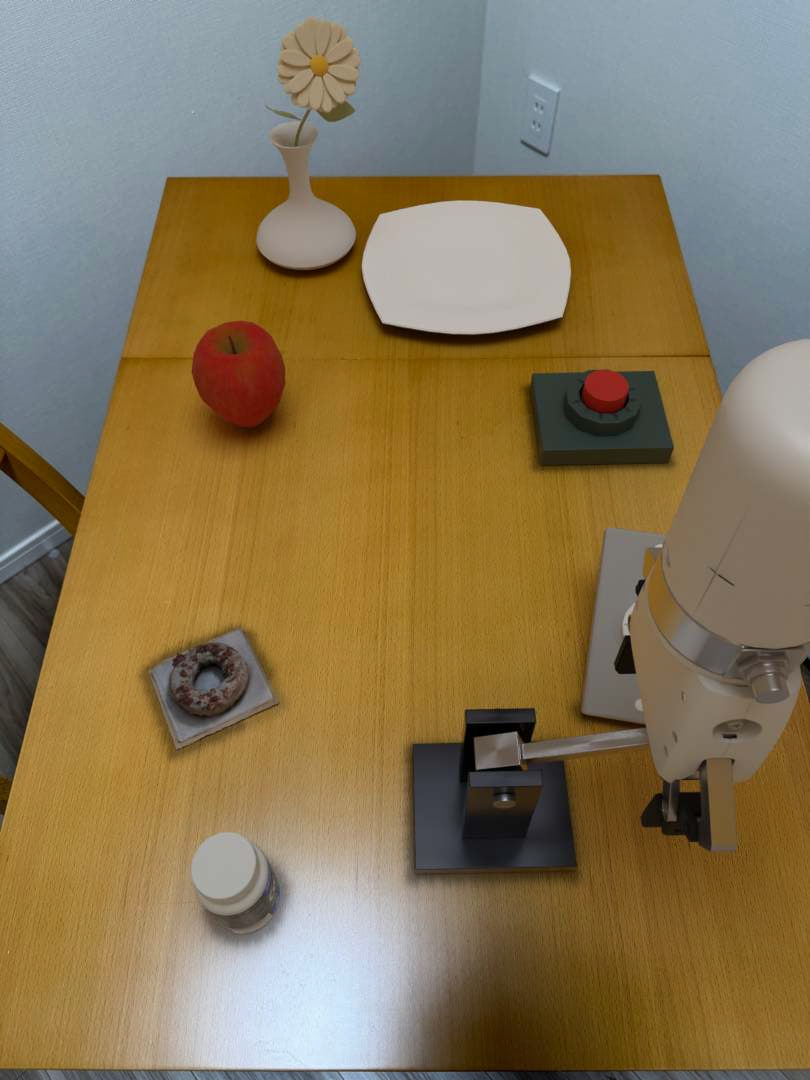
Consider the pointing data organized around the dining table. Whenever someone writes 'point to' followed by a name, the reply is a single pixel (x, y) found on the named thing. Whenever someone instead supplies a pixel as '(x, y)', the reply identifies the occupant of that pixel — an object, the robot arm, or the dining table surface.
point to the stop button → (605, 391)
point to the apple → (239, 372)
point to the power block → (599, 422)
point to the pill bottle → (235, 882)
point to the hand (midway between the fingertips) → (652, 741)
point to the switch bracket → (489, 805)
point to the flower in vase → (323, 85)
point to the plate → (466, 268)
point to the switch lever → (552, 748)
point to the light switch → (615, 626)
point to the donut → (211, 687)
